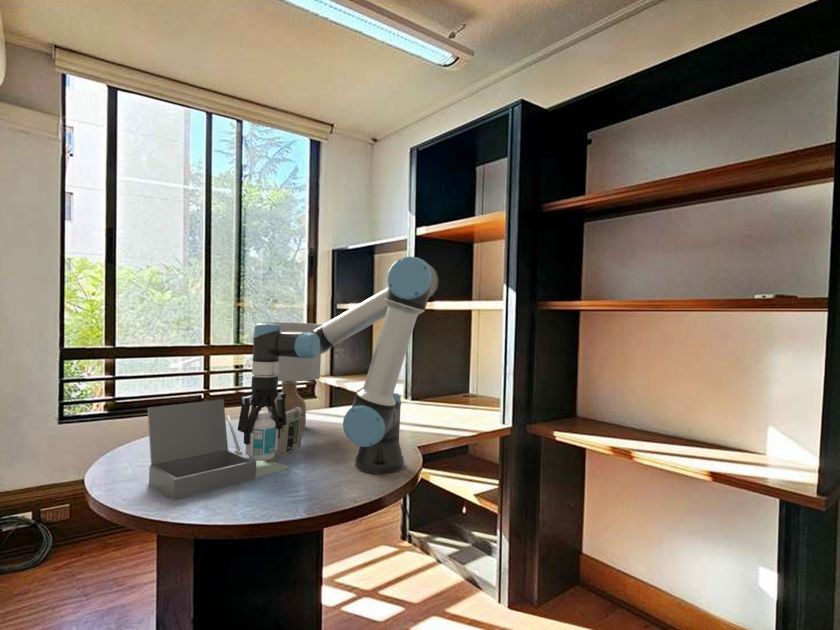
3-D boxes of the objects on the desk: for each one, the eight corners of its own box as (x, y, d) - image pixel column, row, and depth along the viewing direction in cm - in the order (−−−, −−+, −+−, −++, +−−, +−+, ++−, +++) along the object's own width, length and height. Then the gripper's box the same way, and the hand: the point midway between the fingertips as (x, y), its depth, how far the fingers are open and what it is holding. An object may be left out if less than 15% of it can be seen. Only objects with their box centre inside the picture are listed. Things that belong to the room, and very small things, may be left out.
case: (259, 478, 134) (262, 408, 134) (173, 500, 116) (177, 419, 116) (224, 462, 146) (227, 398, 146) (142, 480, 128) (145, 407, 128)
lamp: (279, 418, 207) (283, 322, 207) (328, 425, 200) (332, 324, 200) (242, 430, 184) (247, 322, 185) (296, 438, 177) (301, 325, 177)
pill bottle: (271, 453, 147) (273, 409, 147) (276, 460, 141) (278, 414, 141) (246, 455, 143) (248, 410, 144) (250, 462, 137) (252, 415, 137)
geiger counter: (278, 416, 146) (313, 405, 171) (259, 414, 148) (296, 403, 172) (275, 462, 146) (309, 444, 170) (256, 460, 147) (293, 442, 172)
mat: (287, 468, 143) (287, 466, 143) (254, 477, 134) (254, 475, 134) (267, 460, 150) (267, 458, 150) (234, 468, 141) (234, 466, 141)
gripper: (286, 371, 152) (283, 443, 152) (226, 376, 137) (222, 456, 137) (301, 374, 147) (297, 448, 147) (239, 379, 132) (236, 462, 132)
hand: (261, 452), depth 142 cm, fingers closed on pill bottle, 7 cm apart
